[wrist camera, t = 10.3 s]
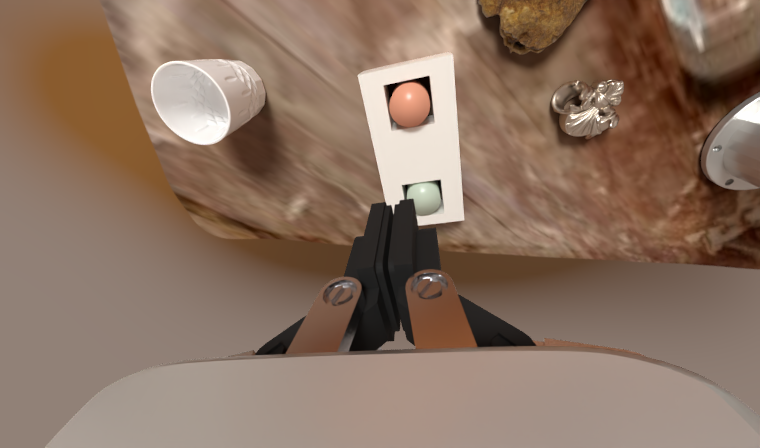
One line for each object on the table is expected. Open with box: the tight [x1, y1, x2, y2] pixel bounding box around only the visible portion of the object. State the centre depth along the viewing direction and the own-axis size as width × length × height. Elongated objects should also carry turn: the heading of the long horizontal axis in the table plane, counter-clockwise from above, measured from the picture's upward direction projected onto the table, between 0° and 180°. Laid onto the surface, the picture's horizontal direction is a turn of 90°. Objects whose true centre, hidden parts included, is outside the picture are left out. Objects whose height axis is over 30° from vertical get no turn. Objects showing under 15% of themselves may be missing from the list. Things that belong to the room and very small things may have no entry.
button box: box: [358, 52, 464, 226], centre depth 38 cm, size 10×20×4 cm, turn 12°
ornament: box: [551, 79, 624, 139], centre depth 34 cm, size 8×7×4 cm
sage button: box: [407, 180, 441, 215], centre depth 41 cm, size 4×4×4 cm
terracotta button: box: [389, 79, 430, 127], centre depth 34 cm, size 4×4×4 cm
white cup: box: [151, 59, 266, 145], centre depth 34 cm, size 8×8×10 cm
